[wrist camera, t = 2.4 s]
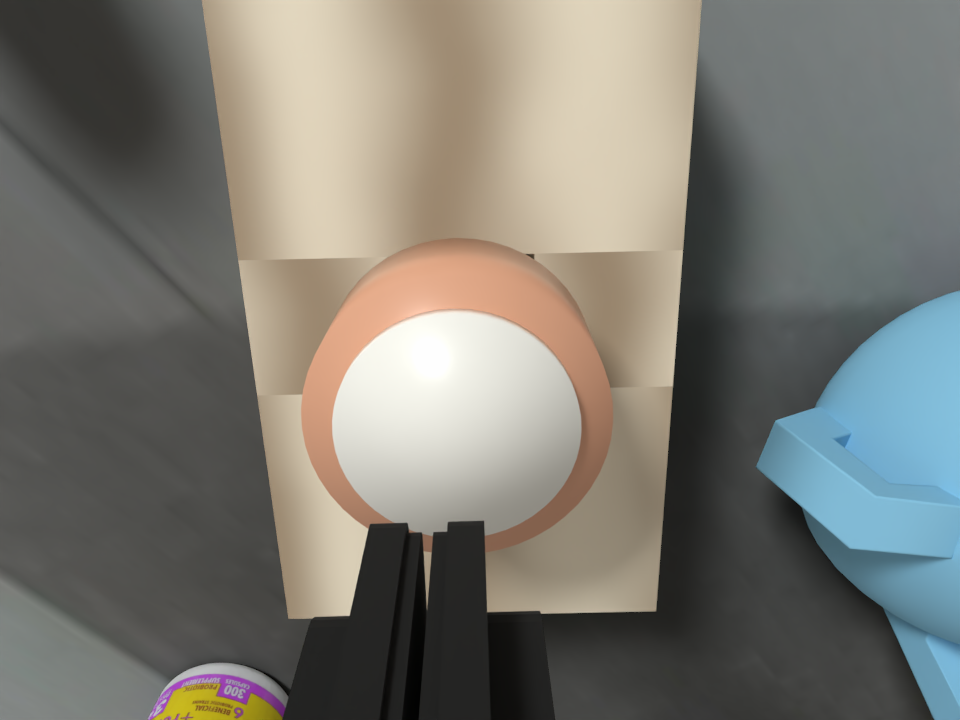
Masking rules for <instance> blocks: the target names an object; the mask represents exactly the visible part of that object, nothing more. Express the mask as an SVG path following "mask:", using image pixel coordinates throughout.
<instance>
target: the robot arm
mask: <svg viewBox="0 0 960 720" xmlns="http://www.w3.org/2000/svg"><path fill="white" fill-rule="evenodd" d="M282 720H555V715H554V707H553V700H552V692H551V684H550V677H549V669H548V661H547V654H546V646H545V639H544V631H543V623H542V617H541V612H540V611H512V612H487V590H486V560H485V529H484V521H452V522H448V525H447V532H433V541H432V554H431V567H430V580H429V592H428V605H427V602H426V584H425V566H424V549H423V535H422V532H413V533H409V527H408V523H377V524H370V526H369V529H368V534H367V538H366V543H365V547H364V552H363V557H362V561H361V566H360V570H359V575H358V579H357V584H356V589H355V593H354V598H353V602H352V607H351V612H350V616H326V617H314V618H313V619H312V620H311V622H310V625H309V628H308V631H307V635H306V638H305V642H304V645H303V649H302V652H301V656H300V659H299V663H298V666H297V670H296V673H295V676H294V680H293V683H292V687H291V690H290V694H289V697H288V701H287V704H286V708H285V711H284V715H283V718H282Z"/></svg>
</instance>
